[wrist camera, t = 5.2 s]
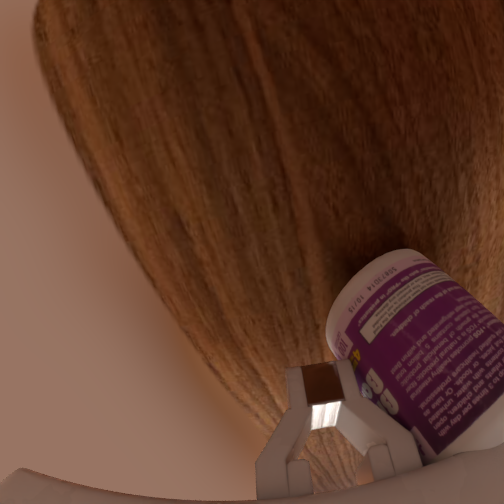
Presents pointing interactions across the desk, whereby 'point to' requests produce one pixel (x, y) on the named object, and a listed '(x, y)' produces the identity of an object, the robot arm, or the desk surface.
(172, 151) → the desk surface
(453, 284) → the pill bottle
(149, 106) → the desk surface
